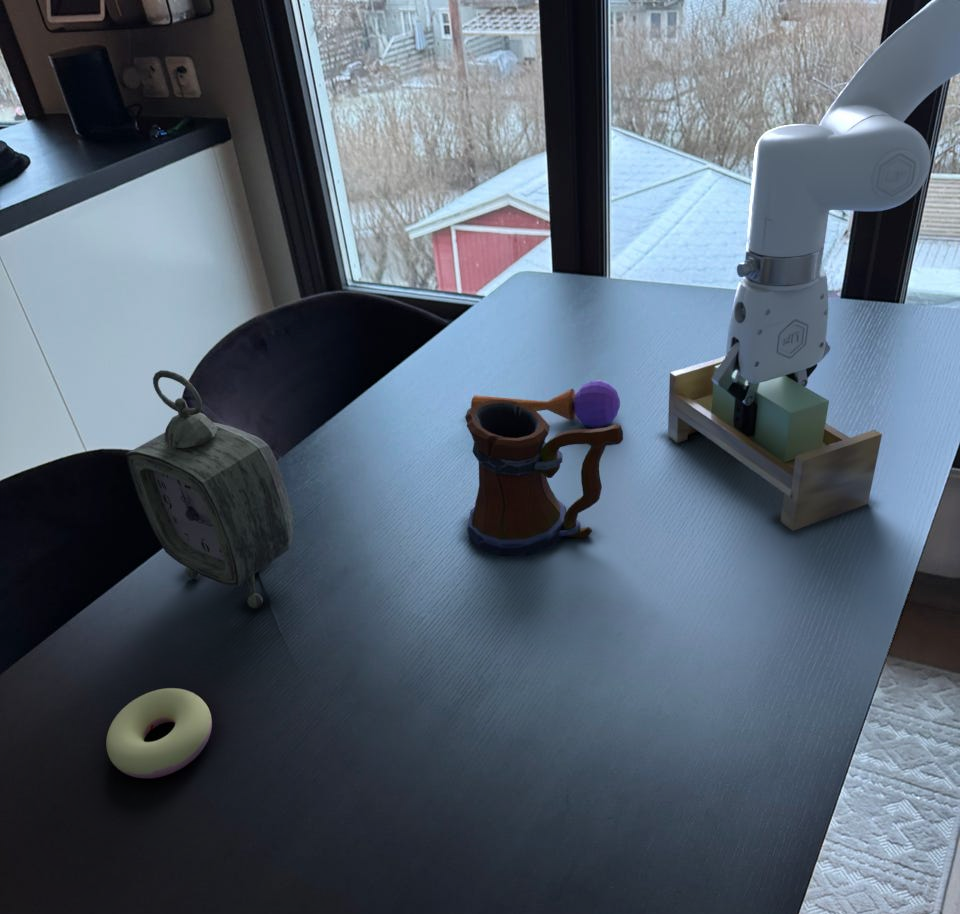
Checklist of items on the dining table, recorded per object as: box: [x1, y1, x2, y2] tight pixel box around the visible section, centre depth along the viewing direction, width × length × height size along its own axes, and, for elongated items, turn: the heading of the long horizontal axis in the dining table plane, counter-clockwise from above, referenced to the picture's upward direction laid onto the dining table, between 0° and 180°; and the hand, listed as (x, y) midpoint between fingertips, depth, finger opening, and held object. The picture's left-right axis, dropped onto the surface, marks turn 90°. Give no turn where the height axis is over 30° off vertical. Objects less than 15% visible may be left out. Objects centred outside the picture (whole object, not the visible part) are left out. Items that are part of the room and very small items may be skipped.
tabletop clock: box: [126, 369, 295, 609], centre depth 95 cm, size 14×9×25 cm, turn 53°
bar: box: [711, 365, 830, 463], centre depth 104 cm, size 5×14×6 cm, turn 23°
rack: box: [667, 355, 883, 532], centre depth 106 cm, size 10×25×9 cm, turn 23°
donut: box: [105, 687, 213, 779], centre depth 84 cm, size 10×5×9 cm
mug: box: [464, 399, 624, 557], centre depth 99 cm, size 18×12×15 cm, turn 69°
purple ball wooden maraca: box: [470, 380, 621, 428], centre depth 122 cm, size 6×6×20 cm
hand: (765, 423), depth 105 cm, fingers closed on bar, 5 cm apart
